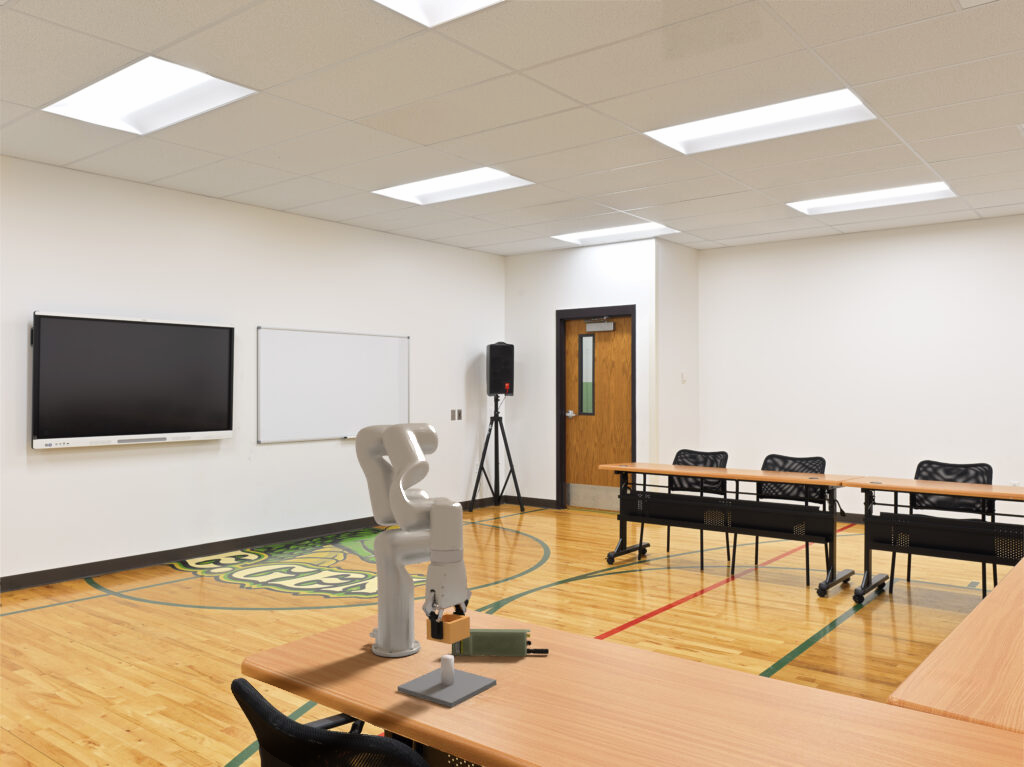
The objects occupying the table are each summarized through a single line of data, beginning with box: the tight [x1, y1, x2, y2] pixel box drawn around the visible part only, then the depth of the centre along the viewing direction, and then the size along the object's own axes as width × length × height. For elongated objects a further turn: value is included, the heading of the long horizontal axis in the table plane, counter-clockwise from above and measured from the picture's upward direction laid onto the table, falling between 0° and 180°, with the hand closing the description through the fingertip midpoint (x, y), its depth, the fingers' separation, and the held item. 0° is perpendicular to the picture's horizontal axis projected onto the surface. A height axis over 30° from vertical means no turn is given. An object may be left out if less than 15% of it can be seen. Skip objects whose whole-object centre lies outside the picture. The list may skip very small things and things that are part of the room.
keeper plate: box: [397, 654, 497, 709], centre depth 178 cm, size 16×16×7 cm
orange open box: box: [425, 611, 471, 645], centre depth 177 cm, size 7×7×4 cm
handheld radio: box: [451, 628, 550, 657], centre depth 200 cm, size 7×3×25 cm
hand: (448, 633), depth 177 cm, fingers closed on orange open box, 7 cm apart
